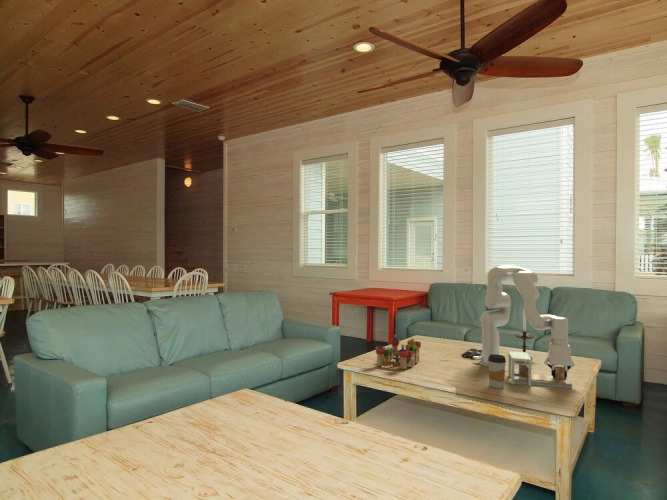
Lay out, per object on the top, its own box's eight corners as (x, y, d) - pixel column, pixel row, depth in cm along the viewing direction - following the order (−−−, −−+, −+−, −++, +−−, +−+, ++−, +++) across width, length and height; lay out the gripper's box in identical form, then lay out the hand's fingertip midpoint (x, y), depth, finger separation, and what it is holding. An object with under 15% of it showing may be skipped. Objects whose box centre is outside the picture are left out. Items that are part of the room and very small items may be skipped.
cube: (520, 376, 219) (520, 367, 219) (518, 374, 223) (518, 364, 223) (530, 377, 217) (530, 368, 217) (529, 375, 222) (529, 365, 222)
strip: (521, 381, 216) (521, 366, 216) (519, 375, 225) (519, 361, 225) (565, 384, 211) (565, 369, 211) (561, 379, 220) (561, 364, 220)
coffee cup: (496, 390, 206) (496, 359, 206) (484, 384, 214) (484, 355, 214) (509, 387, 210) (509, 357, 210) (496, 382, 217) (497, 353, 217)
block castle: (392, 354, 276) (392, 332, 275) (423, 358, 266) (423, 335, 266) (373, 365, 249) (373, 341, 249) (407, 370, 239) (407, 345, 239)
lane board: (514, 383, 216) (514, 379, 216) (511, 376, 228) (511, 372, 228) (572, 388, 209) (572, 384, 209) (566, 381, 220) (566, 377, 220)
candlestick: (534, 361, 259) (535, 303, 258) (515, 359, 262) (515, 302, 262) (532, 357, 269) (533, 301, 269) (514, 355, 272) (514, 300, 272)
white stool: (511, 384, 215) (511, 358, 215) (508, 375, 229) (508, 351, 229) (531, 386, 213) (531, 359, 213) (526, 377, 227) (526, 352, 227)
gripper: (542, 342, 214) (542, 378, 215) (580, 344, 210) (579, 381, 210) (539, 339, 222) (539, 374, 222) (576, 341, 217) (575, 377, 217)
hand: (559, 377), depth 216 cm, fingers closed on strip, 4 cm apart
